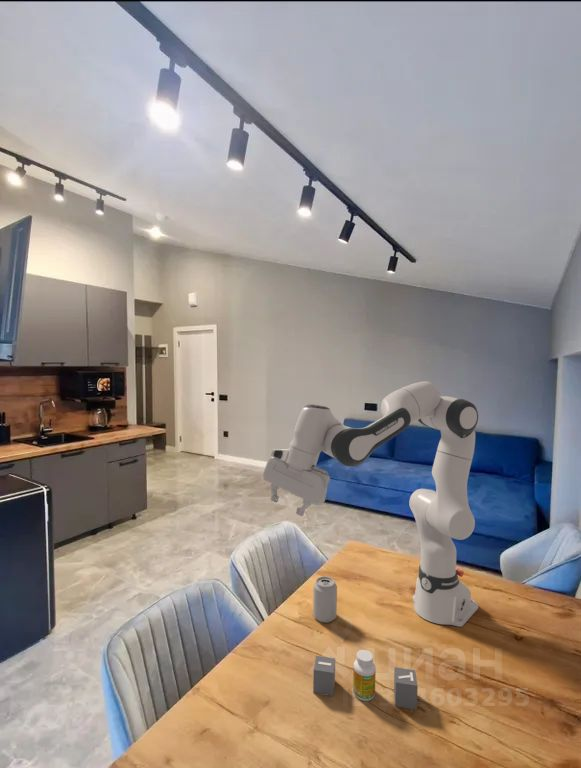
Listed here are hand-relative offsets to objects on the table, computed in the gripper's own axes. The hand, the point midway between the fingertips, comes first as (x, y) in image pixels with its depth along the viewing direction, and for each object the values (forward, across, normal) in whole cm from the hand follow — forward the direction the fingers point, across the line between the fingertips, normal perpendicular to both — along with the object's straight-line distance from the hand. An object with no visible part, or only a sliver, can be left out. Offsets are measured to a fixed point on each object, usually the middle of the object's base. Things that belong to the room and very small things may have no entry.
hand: (286, 508), depth 113 cm
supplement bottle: (+36, -31, -12) cm, 48 cm away
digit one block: (+38, -22, -7) cm, 44 cm away
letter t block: (+33, -39, -16) cm, 54 cm away
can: (+34, -6, -31) cm, 47 cm away
